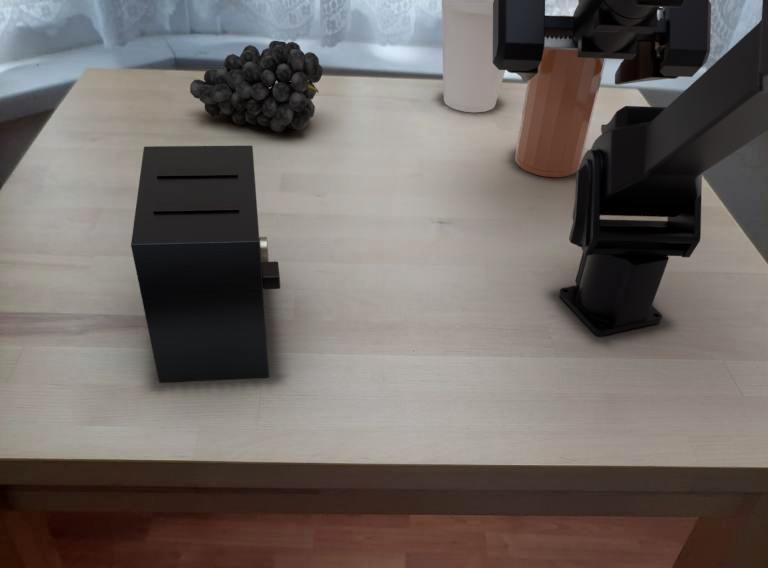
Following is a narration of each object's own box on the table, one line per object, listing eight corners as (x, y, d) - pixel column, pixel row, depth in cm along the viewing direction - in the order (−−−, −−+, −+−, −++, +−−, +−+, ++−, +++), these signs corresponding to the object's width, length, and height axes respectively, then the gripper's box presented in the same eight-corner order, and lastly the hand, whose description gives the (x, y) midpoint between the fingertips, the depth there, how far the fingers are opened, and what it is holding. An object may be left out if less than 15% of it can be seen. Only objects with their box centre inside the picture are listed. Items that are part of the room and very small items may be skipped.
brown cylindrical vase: (591, 172, 84) (626, 37, 74) (534, 181, 82) (562, 42, 72) (558, 144, 88) (586, 13, 78) (503, 152, 86) (525, 18, 76)
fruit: (172, 28, 80) (314, 43, 78) (204, 32, 87) (334, 46, 86) (175, 122, 85) (310, 138, 83) (205, 119, 92) (330, 134, 90)
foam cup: (426, 85, 97) (436, -39, 88) (498, 86, 99) (517, -36, 89) (438, 117, 91) (451, -12, 82) (515, 118, 92) (537, -10, 83)
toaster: (275, 274, 68) (268, 143, 59) (285, 376, 59) (278, 238, 50) (166, 277, 66) (143, 143, 58) (158, 382, 57) (130, 242, 49)
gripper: (751, -122, 61) (665, -4, 77) (516, -135, 60) (476, -13, 75) (747, 26, 62) (662, 113, 78) (515, 16, 61) (476, 107, 76)
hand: (570, 77), depth 77 cm, fingers open, 9 cm apart
